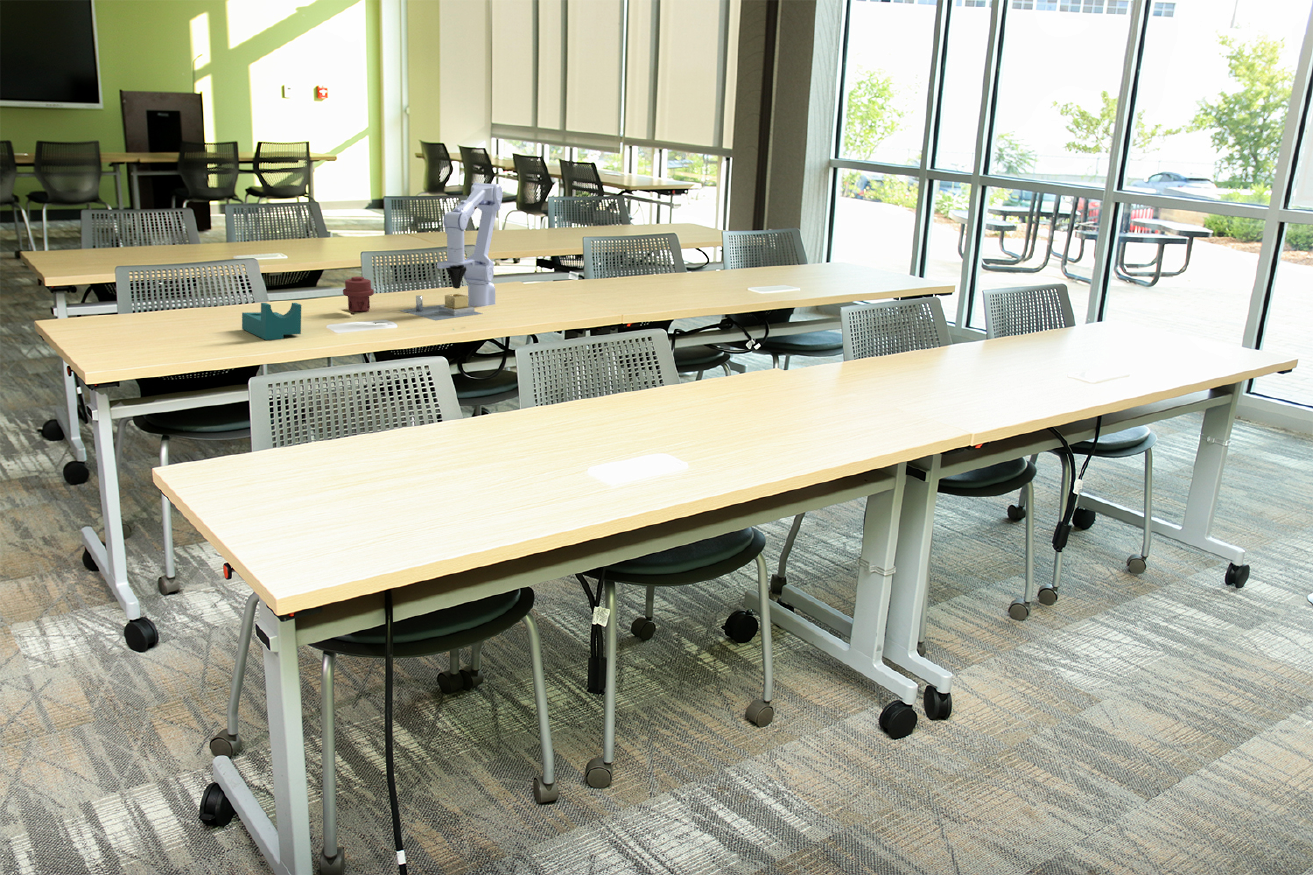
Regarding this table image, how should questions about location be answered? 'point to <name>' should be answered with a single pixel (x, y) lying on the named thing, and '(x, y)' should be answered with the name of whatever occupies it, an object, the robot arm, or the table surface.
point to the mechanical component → (358, 294)
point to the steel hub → (456, 310)
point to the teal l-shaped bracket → (273, 322)
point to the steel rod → (419, 303)
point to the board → (435, 313)
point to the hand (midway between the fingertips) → (456, 288)
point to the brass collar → (456, 301)
